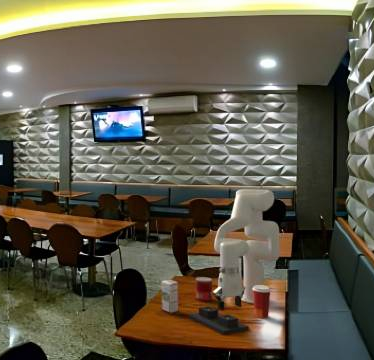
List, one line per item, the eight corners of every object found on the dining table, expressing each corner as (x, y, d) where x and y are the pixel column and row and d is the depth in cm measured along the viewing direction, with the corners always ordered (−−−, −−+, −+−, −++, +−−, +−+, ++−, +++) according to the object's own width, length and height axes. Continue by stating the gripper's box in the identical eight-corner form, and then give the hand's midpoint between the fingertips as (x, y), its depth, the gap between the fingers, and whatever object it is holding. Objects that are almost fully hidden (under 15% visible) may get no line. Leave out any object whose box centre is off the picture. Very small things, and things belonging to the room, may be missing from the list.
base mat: (212, 313, 214) (212, 304, 213) (248, 329, 193) (248, 319, 193) (189, 317, 209) (189, 308, 208) (223, 334, 188) (223, 324, 188)
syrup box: (178, 310, 218) (178, 281, 217) (169, 313, 215) (169, 283, 214) (169, 307, 223) (169, 279, 222) (161, 309, 220) (161, 281, 219)
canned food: (213, 301, 231) (213, 281, 230) (196, 301, 232) (196, 280, 232) (210, 297, 238) (210, 277, 238) (195, 296, 240) (195, 276, 239)
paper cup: (269, 314, 211) (269, 285, 211) (271, 320, 204) (272, 290, 203) (251, 312, 214) (251, 284, 213) (253, 318, 207) (253, 288, 206)
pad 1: (209, 313, 210) (209, 305, 210) (218, 317, 205) (218, 309, 204) (198, 314, 208) (198, 307, 208) (207, 319, 202) (207, 311, 202)
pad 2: (227, 321, 199) (228, 313, 199) (238, 326, 193) (238, 318, 193) (217, 323, 197) (217, 315, 197) (227, 328, 191) (227, 320, 191)
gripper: (220, 274, 189) (220, 313, 191) (251, 269, 196) (251, 307, 197) (207, 270, 196) (208, 308, 198) (238, 265, 203) (238, 302, 204)
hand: (229, 307), depth 197 cm, fingers open, 9 cm apart
